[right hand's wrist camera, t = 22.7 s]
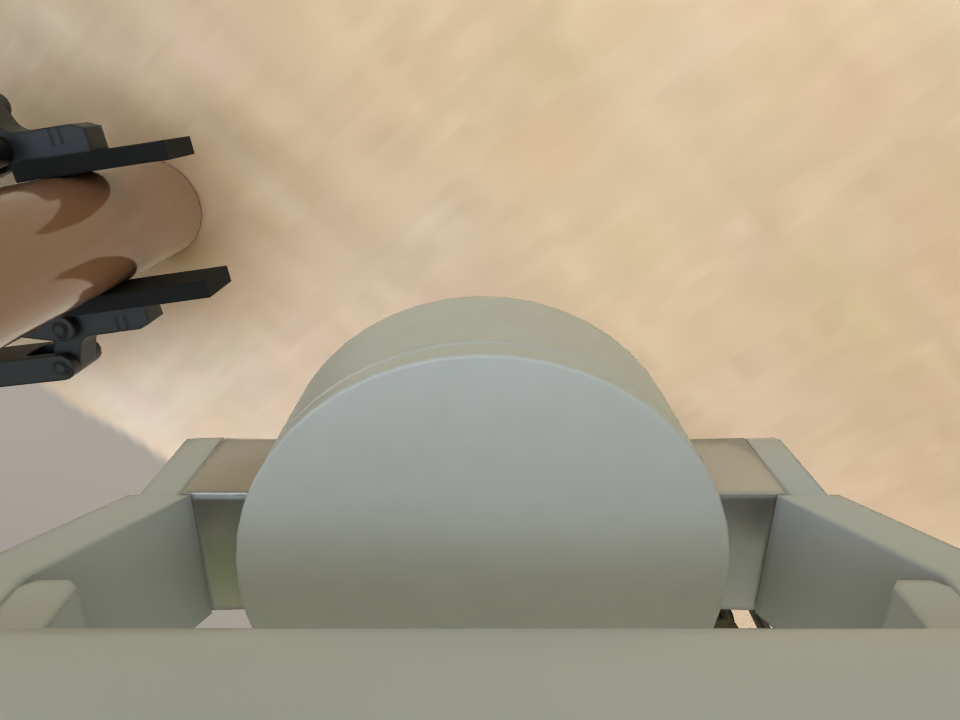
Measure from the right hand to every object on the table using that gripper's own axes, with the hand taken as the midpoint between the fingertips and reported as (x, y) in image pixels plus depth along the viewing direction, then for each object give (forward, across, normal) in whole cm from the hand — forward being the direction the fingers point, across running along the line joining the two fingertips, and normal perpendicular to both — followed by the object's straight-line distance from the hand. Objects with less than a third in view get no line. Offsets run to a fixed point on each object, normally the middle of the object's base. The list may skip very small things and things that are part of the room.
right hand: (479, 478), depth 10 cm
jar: (+28, +18, 0) cm, 33 cm away
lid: (-2, 0, 0) cm, 2 cm away
